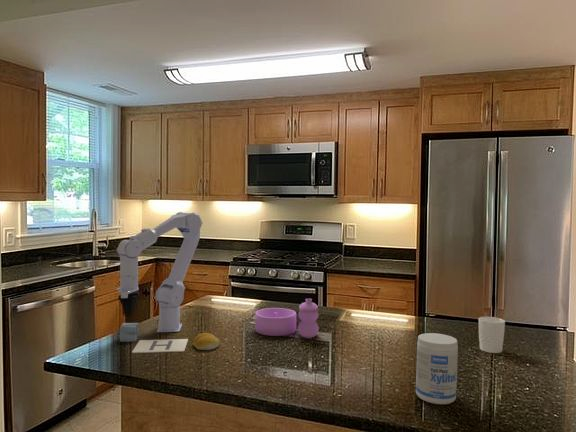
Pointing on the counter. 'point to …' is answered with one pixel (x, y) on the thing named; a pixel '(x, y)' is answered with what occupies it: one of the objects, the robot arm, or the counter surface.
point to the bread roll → (205, 341)
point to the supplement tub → (436, 368)
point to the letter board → (160, 346)
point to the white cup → (491, 334)
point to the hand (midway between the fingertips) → (129, 314)
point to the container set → (288, 320)
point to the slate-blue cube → (128, 332)
